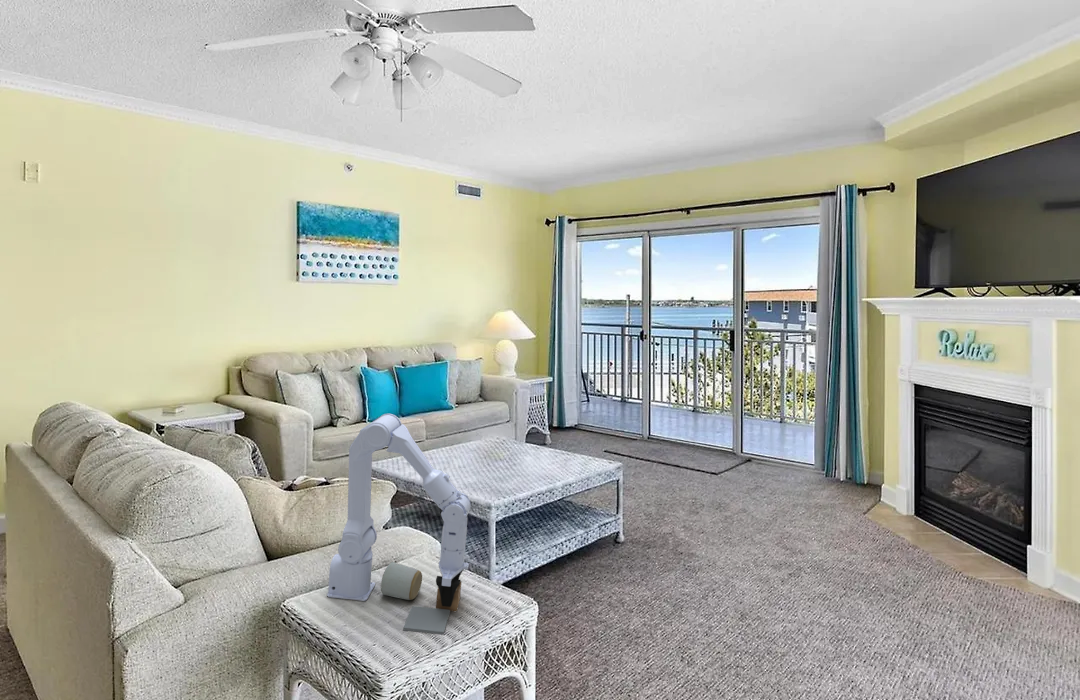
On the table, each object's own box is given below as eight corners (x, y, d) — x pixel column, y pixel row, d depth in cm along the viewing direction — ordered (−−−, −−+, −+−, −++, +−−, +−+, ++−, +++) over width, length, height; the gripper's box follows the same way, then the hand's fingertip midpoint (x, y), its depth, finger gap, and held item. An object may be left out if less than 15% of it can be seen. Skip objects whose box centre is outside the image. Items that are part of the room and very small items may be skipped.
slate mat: (403, 630, 138) (403, 627, 138) (412, 608, 147) (412, 605, 147) (443, 634, 138) (443, 631, 138) (450, 612, 147) (450, 609, 147)
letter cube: (435, 609, 147) (437, 588, 147) (439, 598, 152) (441, 577, 152) (456, 611, 147) (458, 590, 147) (459, 600, 152) (461, 580, 152)
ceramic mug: (411, 606, 148) (413, 576, 147) (378, 600, 149) (381, 569, 148) (427, 586, 158) (429, 557, 157) (396, 580, 159) (399, 551, 158)
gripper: (465, 561, 141) (460, 618, 143) (473, 534, 155) (468, 585, 157) (434, 558, 141) (429, 614, 143) (445, 531, 155) (441, 582, 157)
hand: (448, 599), depth 150 cm, fingers closed on letter cube, 5 cm apart
